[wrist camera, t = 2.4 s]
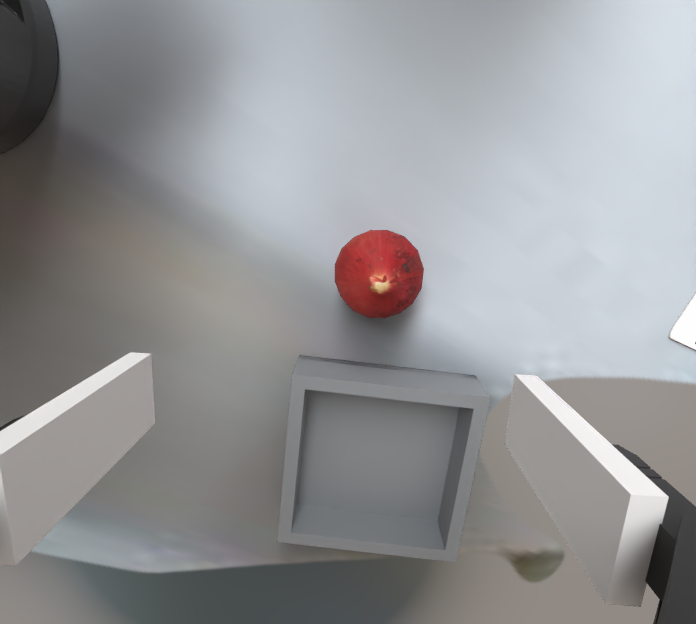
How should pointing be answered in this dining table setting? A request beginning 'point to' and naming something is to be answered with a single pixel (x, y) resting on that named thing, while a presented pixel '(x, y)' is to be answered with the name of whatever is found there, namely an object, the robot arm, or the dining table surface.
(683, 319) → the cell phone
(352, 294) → the onion
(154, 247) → the dining table surface
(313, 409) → the box
